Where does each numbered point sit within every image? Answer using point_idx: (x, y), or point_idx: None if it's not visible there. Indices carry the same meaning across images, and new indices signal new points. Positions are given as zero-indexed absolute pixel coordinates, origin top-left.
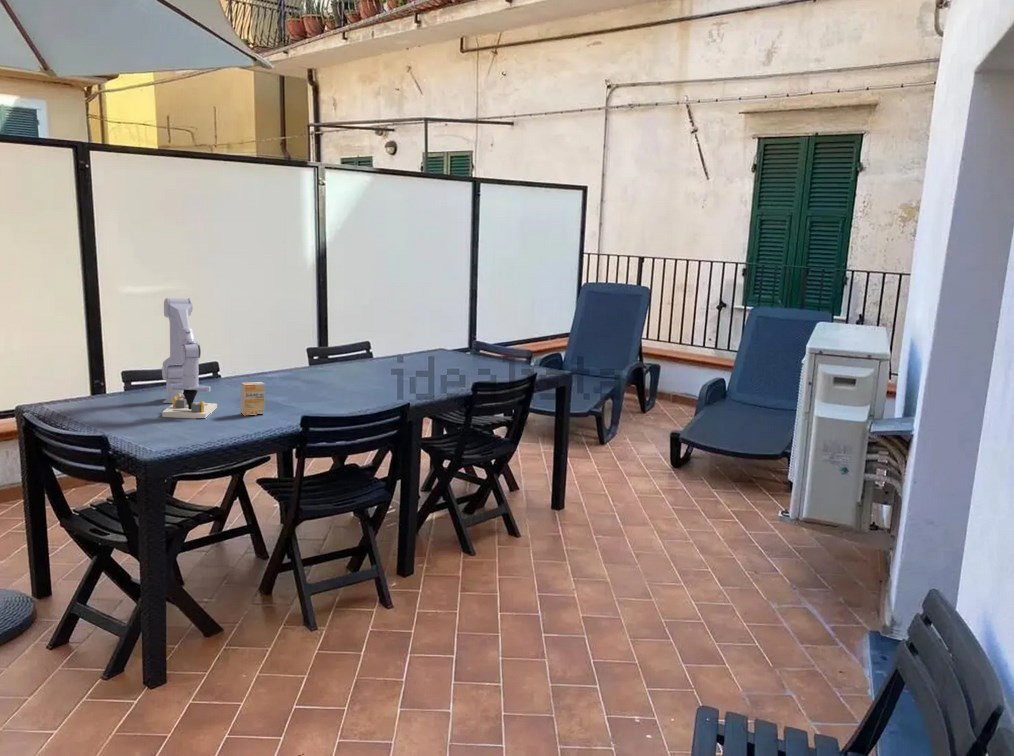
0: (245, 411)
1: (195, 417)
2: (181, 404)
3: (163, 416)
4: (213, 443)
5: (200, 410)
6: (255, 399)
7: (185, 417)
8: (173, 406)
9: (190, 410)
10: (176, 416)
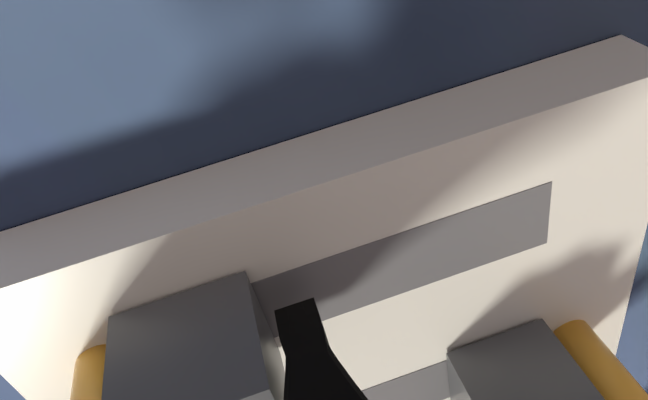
0: None
1: (128, 200)
2: (502, 382)
3: (609, 41)
4: None
5: None
6: None
7: (288, 146)
8: (583, 326)
9: None
10: (428, 106)
